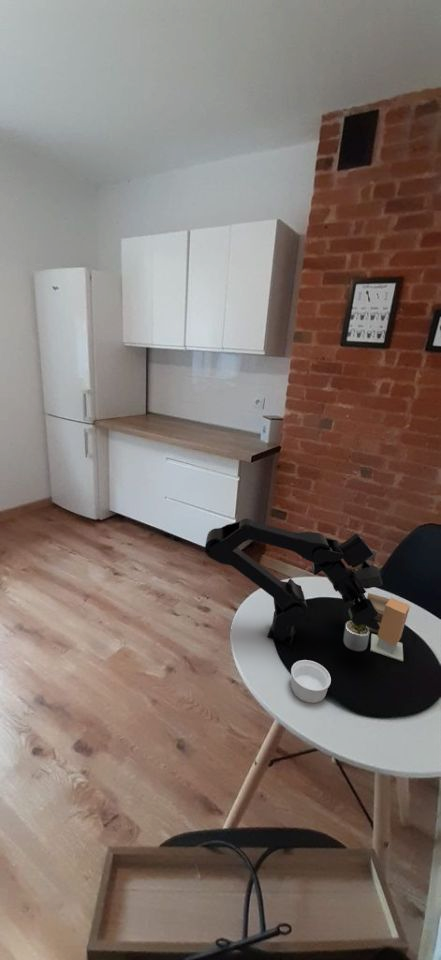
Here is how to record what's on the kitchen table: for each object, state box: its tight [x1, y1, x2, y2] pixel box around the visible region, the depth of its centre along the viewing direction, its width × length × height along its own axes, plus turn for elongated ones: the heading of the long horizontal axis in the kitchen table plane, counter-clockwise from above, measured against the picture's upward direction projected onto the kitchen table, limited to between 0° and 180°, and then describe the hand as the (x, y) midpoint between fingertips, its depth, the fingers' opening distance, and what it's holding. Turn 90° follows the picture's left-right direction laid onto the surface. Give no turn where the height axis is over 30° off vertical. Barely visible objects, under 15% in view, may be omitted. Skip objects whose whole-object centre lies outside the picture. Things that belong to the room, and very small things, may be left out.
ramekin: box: [290, 659, 332, 704], centre depth 89 cm, size 9×9×4 cm
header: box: [366, 592, 391, 634], centre depth 117 cm, size 16×8×2 cm, turn 158°
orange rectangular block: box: [376, 597, 411, 654], centre depth 103 cm, size 5×5×13 cm
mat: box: [370, 633, 404, 662], centre depth 105 cm, size 7×8×1 cm
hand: (372, 617), depth 102 cm, fingers open, 9 cm apart
